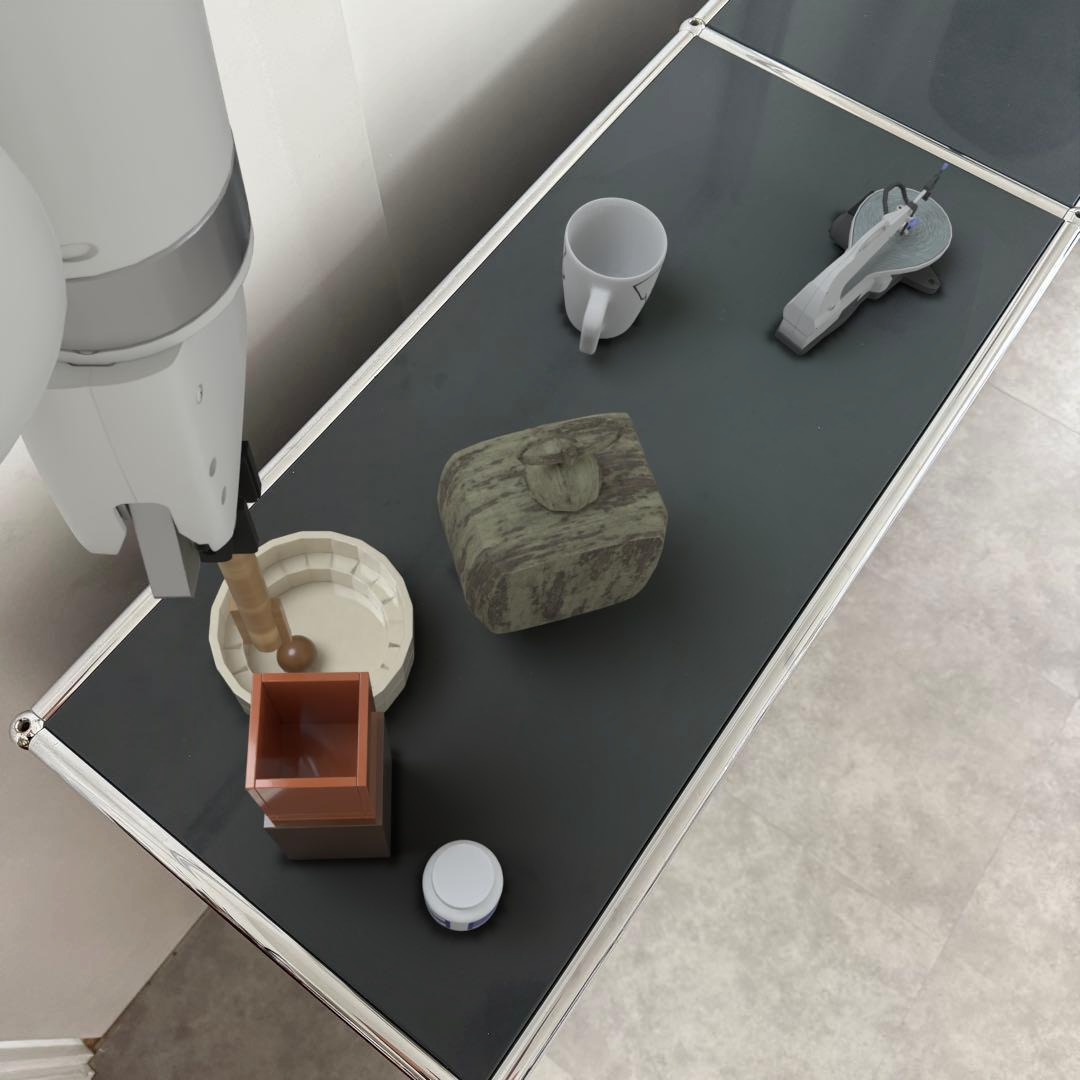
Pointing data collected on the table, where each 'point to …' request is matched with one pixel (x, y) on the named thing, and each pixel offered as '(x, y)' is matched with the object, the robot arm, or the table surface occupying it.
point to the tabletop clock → (552, 521)
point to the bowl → (325, 614)
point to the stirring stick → (254, 605)
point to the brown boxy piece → (320, 764)
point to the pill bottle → (462, 885)
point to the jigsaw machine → (870, 260)
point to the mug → (610, 266)
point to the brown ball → (297, 655)
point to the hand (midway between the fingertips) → (220, 520)
